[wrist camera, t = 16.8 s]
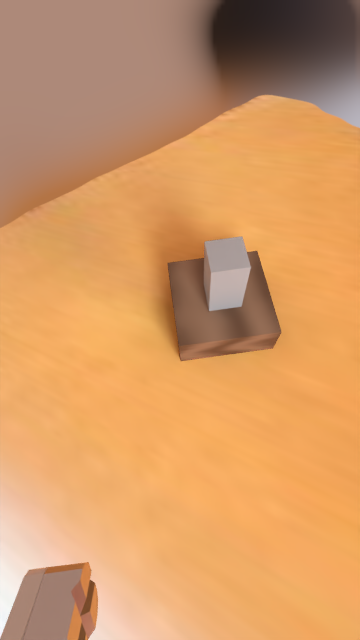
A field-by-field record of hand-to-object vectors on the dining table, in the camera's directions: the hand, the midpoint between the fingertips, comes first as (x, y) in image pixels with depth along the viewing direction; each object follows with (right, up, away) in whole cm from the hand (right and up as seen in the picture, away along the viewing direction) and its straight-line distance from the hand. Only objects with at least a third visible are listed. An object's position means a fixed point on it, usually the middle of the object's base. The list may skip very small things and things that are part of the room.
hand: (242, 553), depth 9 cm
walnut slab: (+4, +7, +36) cm, 37 cm away
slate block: (+4, +9, +32) cm, 33 cm away
